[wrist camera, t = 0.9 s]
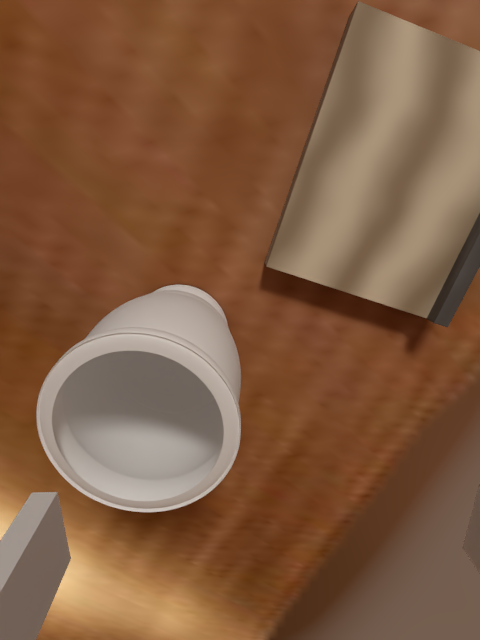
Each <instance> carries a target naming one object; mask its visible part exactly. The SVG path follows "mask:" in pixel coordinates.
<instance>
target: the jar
mask: <svg viewBox="0 0 480 640" xmlns="http://www.w3.org/2000/svg"><path fill="white" fill-rule="evenodd" d="M240 387H241V370H240V362H239V356H238V352H237V348H236V345H235V342H234V340H233V337H232V335H231V333H230V331H229V328H228V324H227V320H226V317H225V314H224V312H223V310H222V309H221V307H220V306H219V304H218V303H217V302H216V301H215V300H214V299H213V298H212V297H211V296H210V295H208V294H207V293H205V292H204V291H202V290H200V289H198V288H195V287H192V286H188V285H170V286H165V287H162V288H160V289H158V290H156V291H154V292H153V293H150V294H147V295H145V296H141V297H138V298H136V299H133V300H131V301H129V302H126V303H125V304H123V305H121V306H119V307H118V308H116V309H115V310H113V311H112V312H111V313H109V314H108V315H107V316H106V317H104V318H103V319H102V320H101V321H100V322H99V323H98V324H97V325H96V326H95V327H94V328H93V330H92V331H91V332H90V333H89V334H88V336H87V337H86V338H85V339H84V340H82V341H81V342H79V343H78V344H76V345H75V346H73V347H72V348H71V349H69V350H68V351H67V352H66V353H65V354H64V355H63V356H62V357H61V358H60V359H59V360H58V362H57V363H56V364H55V365H54V367H53V368H52V369H51V371H50V372H49V374H48V375H47V377H46V379H45V381H44V383H43V385H42V388H41V390H40V394H39V397H38V402H37V427H38V432H39V436H40V440H41V443H42V445H43V448H44V450H45V452H46V454H47V456H48V458H49V459H50V461H51V463H52V464H53V465H54V467H55V468H56V469H57V471H58V472H59V473H60V474H61V475H62V476H63V477H64V478H65V479H66V480H67V481H68V482H69V483H70V484H71V485H72V486H74V487H75V488H76V489H77V490H79V491H80V492H82V493H83V494H85V495H87V496H88V497H90V498H92V499H94V500H96V501H98V502H100V503H103V504H105V505H108V506H111V507H114V508H118V509H122V510H127V511H134V512H160V511H167V510H172V509H176V508H179V507H183V506H185V505H188V504H190V503H192V502H195V501H196V500H198V499H200V498H202V497H203V496H205V495H206V494H208V493H209V492H210V491H212V490H213V489H214V488H215V487H216V486H217V485H218V484H219V483H220V482H221V481H222V480H223V478H224V477H225V476H226V474H227V473H228V471H229V470H230V468H231V466H232V464H233V462H234V460H235V458H236V455H237V452H238V448H239V443H240V434H241V417H240V410H239V405H238V402H239V396H240Z"/></svg>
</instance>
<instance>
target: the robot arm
mask: <svg viewBox="0 0 480 640" xmlns="http://www.w3.org/2000/svg"><path fill="white" fill-rule="evenodd" d="M463 549H464V550H465V552H466V554H467V555H468V557H469V558H470V560H471V561H472V563H473V564H474V566H475V567H476V569H477V570H478V572H479V573H480V483H479V487H478V491H477V495H476V499H475V502H474V506H473V510H472V514H471V518H470V521H469V525H468V529H467V533H466V537H465V540H464V544H463ZM70 559H71V557H70V552H69V547H68V542H67V537H66V532H65V527H64V522H63V517H62V512H61V507H60V502H59V497H58V492H38V493H31V495H30V496H29V498H28V499H27V501H26V502H25V504H24V505H23V507H22V509H21V510H20V512H19V513H18V515H17V516H16V518H15V519H14V521H13V522H12V524H11V525H10V527H9V528H8V530H7V531H6V533H5V534H4V536H3V538H2V539H1V541H0V640H36V638H37V636H38V634H39V631H40V629H41V627H42V624H43V622H44V620H45V618H46V615H47V613H48V611H49V608H50V606H51V604H52V601H53V599H54V597H55V594H56V592H57V590H58V587H59V585H60V583H61V580H62V578H63V576H64V573H65V571H66V569H67V566H68V564H69V562H70Z"/></svg>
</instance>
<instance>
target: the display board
mask: <svg viewBox="0 0 480 640" xmlns="http://www.w3.org/2000/svg"><path fill="white" fill-rule="evenodd" d="M265 265H266V267H269V268H273V269H276V270H279V271H282V272H285V273H288V274H291V275H294V276H297V277H300V278H303V279H307V280H310V281H313V282H316V283H319V284H322V285H325V286H328V287H331V288H334V289H337V290H340V291H344V292H347V293H350V294H353V295H356V296H359V297H362V298H365V299H368V300H371V301H374V302H378V303H381V304H384V305H387V306H390V307H393V308H396V309H399V310H402V311H405V312H408V313H411V314H415V315H418V316H421V317H424V318H427V319H428V320H430V321H432V322H433V323H435V324H439V325H442V326H445V327H448V326H449V324H450V322H451V320H452V318H453V316H454V314H455V312H456V310H457V308H458V307H459V305H460V303H461V301H462V299H463V297H464V295H465V293H466V291H467V289H468V288H469V286H470V284H471V282H472V280H473V278H474V276H475V274H476V272H477V270H478V269H479V267H480V51H478V50H475V49H473V48H471V47H468V46H466V45H463V44H461V43H458V42H456V41H454V40H451V39H449V38H446V37H444V36H441V35H439V34H437V33H434V32H432V31H429V30H427V29H424V28H422V27H420V26H417V25H415V24H412V23H410V22H407V21H405V20H402V19H400V18H398V17H395V16H393V15H390V14H388V13H385V12H383V11H381V10H378V9H376V8H373V7H371V6H368V5H366V4H364V3H361V2H359V1H358V3H357V4H356V6H355V8H354V9H353V11H352V12H351V14H350V16H349V18H348V21H347V24H346V27H345V30H344V33H343V36H342V39H341V42H340V45H339V48H338V50H337V53H336V56H335V59H334V62H333V65H332V68H331V71H330V74H329V77H328V79H327V82H326V85H325V88H324V91H323V94H322V97H321V100H320V103H319V106H318V108H317V111H316V114H315V117H314V120H313V123H312V126H311V129H310V132H309V135H308V138H307V140H306V143H305V146H304V149H303V152H302V155H301V158H300V161H299V164H298V167H297V169H296V172H295V175H294V178H293V181H292V184H291V187H290V190H289V193H288V196H287V199H286V201H285V204H284V207H283V210H282V213H281V216H280V219H279V222H278V225H277V228H276V230H275V233H274V236H273V239H272V242H271V245H270V248H269V251H268V254H267V257H266V260H265Z"/></svg>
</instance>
